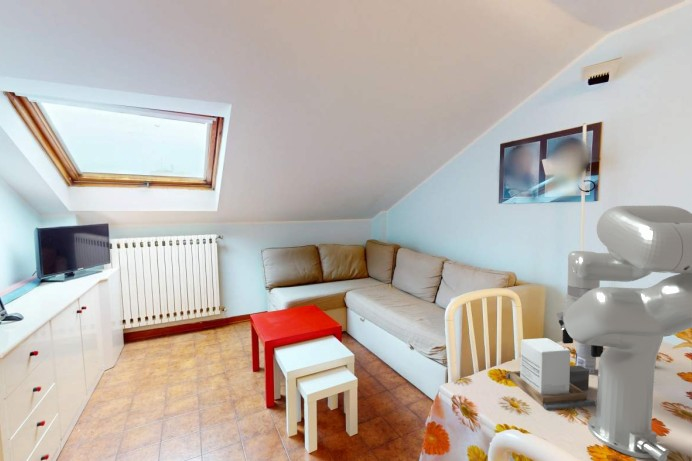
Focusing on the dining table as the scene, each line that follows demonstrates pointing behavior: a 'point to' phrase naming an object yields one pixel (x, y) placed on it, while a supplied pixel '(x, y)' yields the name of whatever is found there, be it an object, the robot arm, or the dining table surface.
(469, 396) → the dining table surface
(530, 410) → the dining table surface
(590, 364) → the energy drink
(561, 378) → the supplement box
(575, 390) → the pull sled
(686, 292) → the robot arm
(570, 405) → the lane rails
